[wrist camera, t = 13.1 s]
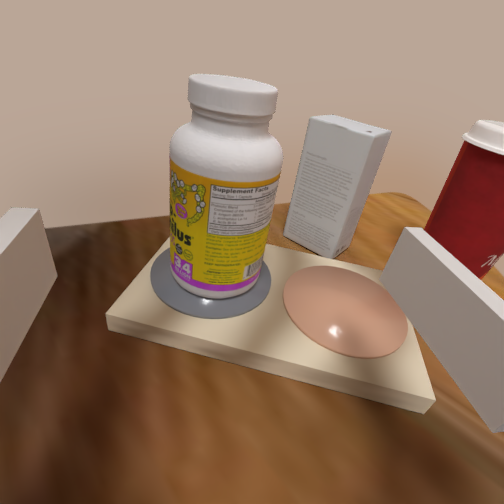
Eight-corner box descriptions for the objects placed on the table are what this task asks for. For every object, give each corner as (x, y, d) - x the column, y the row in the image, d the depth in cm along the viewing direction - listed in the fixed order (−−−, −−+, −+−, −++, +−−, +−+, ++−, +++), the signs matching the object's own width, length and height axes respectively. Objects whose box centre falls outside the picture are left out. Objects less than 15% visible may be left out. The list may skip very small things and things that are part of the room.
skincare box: (349, 247, 33) (395, 130, 26) (330, 262, 30) (376, 136, 23) (302, 223, 36) (332, 113, 29) (280, 235, 33) (308, 115, 26)
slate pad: (126, 299, 20) (125, 296, 20) (179, 232, 28) (179, 230, 28) (259, 333, 20) (260, 330, 19) (277, 255, 27) (278, 253, 27)
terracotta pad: (275, 337, 20) (275, 334, 19) (289, 258, 27) (289, 255, 27) (420, 375, 19) (422, 372, 19) (393, 283, 26) (395, 280, 26)
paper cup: (495, 317, 27) (630, 157, 19) (405, 297, 27) (500, 133, 19) (460, 265, 33) (550, 129, 25) (388, 249, 34) (454, 112, 26)
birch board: (108, 329, 20) (105, 313, 19) (180, 237, 30) (180, 223, 29) (423, 414, 18) (435, 400, 18) (389, 286, 28) (396, 274, 27)
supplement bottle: (168, 248, 25) (166, 64, 18) (247, 246, 27) (274, 80, 20) (172, 307, 20) (171, 83, 13) (269, 300, 22) (317, 101, 15)
